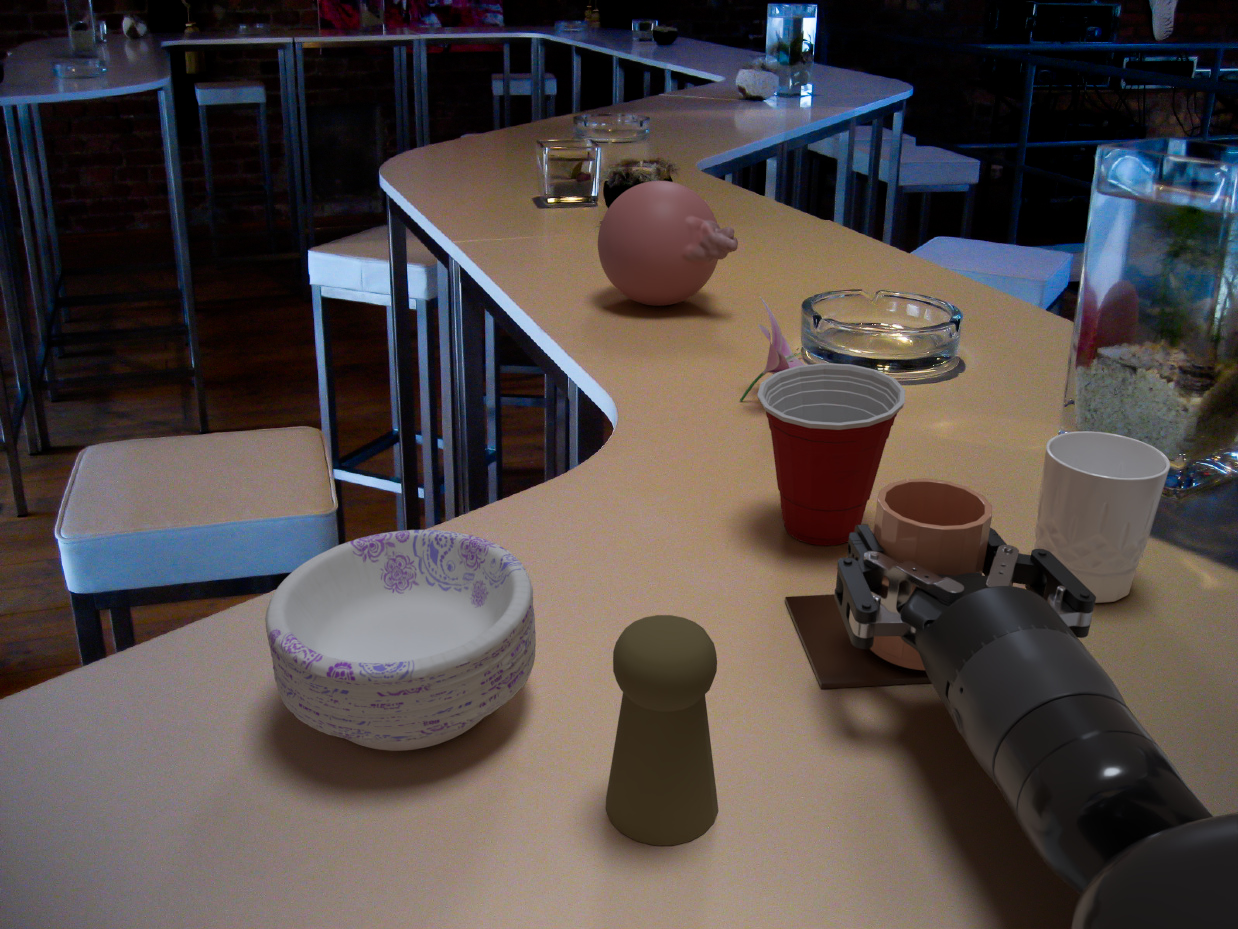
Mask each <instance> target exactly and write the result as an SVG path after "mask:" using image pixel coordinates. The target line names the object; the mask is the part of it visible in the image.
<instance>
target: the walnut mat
mask: <svg viewBox="0 0 1238 929" xmlns="http://www.w3.org/2000/svg"><path fill="white" fill-rule="evenodd" d="M784 602H785V605H786V608H787V610H788V612H789V614H790V617H791V619H792V621H793V624H794V626H795V629H796V631H797V633H798V636H799V638H800V641H801V643H802V646H803V648H804V651H805V653H806V656H807V658H808V660H809V663H810V665H811V668H812V670H813V673H814V675H815V677H816V680H817V682H818V684H819V688H820V689H821V690H823V689H840V688H841V689H842V688H843V689H844V688H859V687H862V688H863V687H877V686H878V687H880V686H895V685H913V684H914V685H915V684H932V683H931V681H930V679H929V677H928V675H927V673H926V671H925V670H916V669H910V668H905V667H901V666H898V665H895V664H893V663H890V662H888V661H886V660H884V659H882V658H881V657H879V656H878V655H876V654H875V653H874V652H873V651H871V650H870V648H869V649H860V648H857V647H855V646H853V644H852V643H851V640H850V637H849V635H848V632H847V630H846V627H845V624H844V622H843V619H842V616H841V614H840V611H839V608H838V606H837V603H836V600H835V598H834V593H833V594H814V595H792V596H791V595H789V596H784Z"/></svg>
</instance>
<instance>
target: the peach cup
mask: <svg viewBox="0 0 1238 929" xmlns="http://www.w3.org/2000/svg"><path fill="white" fill-rule="evenodd" d="M992 519H993V505H992V504H991V502H990V501H989V500H988V499H987V498H986V496H984V495H983V494H981V493H979V492H978V491H976V490H974V489H972V488H970V487H968V486H966V485H962V484H959V483H956V482H952V481H948V480H941V479H935V478H925V477H924V478H923V477H922V478H907V479H905V478H904V479H902V480H901V479H900V480H898V481H894V482H893V481H892V482H890V483H888V484H886V485H885V486H884V487H883V488H881V489H880V490H879V492H878V496H877V500H876V509H875V516H874V527H873V534H874V536H875V537H876V539H877V541H878V542H879V544H880V545H881V547H882V548H883V550H884V555H886V556H888V557H890V558H891V559H893V560H895V561H897V562H899V563H903V562H905V561H912V562H913V563H915V564H917V565H919V566H921V567H923V568H925V569H927V570H928V571H930V572H932V573H934V574H936V575H937V574H943V575H960V574H965V573H978V572H980V573H981V575H984V574H983V568H984V562H985V556H986V550H987V543H988V537H989V531H990V528H991V525H992ZM882 584H884V585H886V586H888V587H889V580H888V578H887V577H886V576H885V575H883V581H882ZM916 587H917V586H915V585H914V584H912V589H911V594H912V593H913V591H914V590H915V588H916ZM870 650H871V651H873V652H874V653H875V654H876V655H878V656H879V657H881V658H882V659H884V660H886V661H888V662H890V663H893V664H895V665H898V666H901V667H905V668H910V669H916V670H925V668H924V666H923V663H922V660H921V657H920V655H919V652H918V651H917V650H916V649H914V648H913V647H911V646H910V645H908V644H907V643H905V642H904V641H903V640H902V639H901V637H900V636H874V642H873V646H872V647H871V648H870Z"/></svg>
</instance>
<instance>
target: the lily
mask: <svg viewBox="0 0 1238 929" xmlns="http://www.w3.org/2000/svg"><path fill="white" fill-rule="evenodd" d="M759 298H760V300H761V302H762V304H763V306H764V309H765V311H766V312H767V316H768V318H769V322H770V327H771V333H770V331H769V329H767V327H765V326H764V325H762V324H759V323H758V324H757V327H758V328H759V330H760V331H761V332H762V333H763V335H764V336H765V337H766V339H767V340H768V342H769V348H768V355H767V359H766V365H765V368H764V370H763V371H762V372H761V373H760V374H759V375H757V377H756V378H754V380H753V381H752V382H750V384H749V386H748V387H747V388H746V390H745V392H744V393H743V394H742V396H741V397H740V399H739V401H740V402H743V401H744V400H745V398H746V397H747V395H748V394H749V393H750V391H751V390H752V388H753V387H754V386H755V384H756V383H758V382H759V380H760V379H761V378H762V377H764V376H765V375H766V374H771V375H773V374H775V373H777V372H780V371H783V370H786V369H790V368H793V367H796V366H803V365H805V363H804V362H803V361H802V359H803V357H798V356H806V353H804V351H801V352H799V353H797V351H798V350H799V349H800V347H797V348H796V351H794V352H793V351H792V348H791V346H790V344H789V342H788V340H787V339H786V338H785V335H783V334H782V330H781V327H780V324H779V323H778V320H777V318H776V316H775V315H774V313H773V311H772V310H771V308H770V307H769V305H768V304H767V303H766V301H765V300H764V299H763V297H762V296H759ZM771 337H772V340H771ZM771 341H772V342H771Z"/></svg>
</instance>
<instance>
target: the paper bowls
mask: <svg viewBox="0 0 1238 929" xmlns="http://www.w3.org/2000/svg"><path fill="white" fill-rule="evenodd" d="M264 619H265V631H266V636H267V641H268V646H269V650H270V657H271V660H272V669H273V675H274V680H275V683H276V687H277V691H278V693H279V696H280V698H281V700H282V703H283V704H284V706H285V707H286V708H287V709H288V710H289V712H290V713H291V714H294V715H293V716H294V717H295V718H296V719H298V720H299V721H300V722H302V723H303V724H304V725H305V724H306V725H307V726H309V727H310V728H312V729H315V730H317V731H318V732H320V733H324V734H326V735H327V736H328V735H329V736H333V737H337V738H340V739H346V740H347V741H350V742H351V743H353V744H356V745H359V746H362V747H365V748H369V749H374V750H380V751H391V752H397V751H398V752H399V751H400V752H402V751H412V750H413V751H415V750H421V749H424V748H429V747H434V746H437V745H440V744H442V743H446V742H448V741H450V740H452V739H455V738H457V737H459V736H461V735H462V734H464V733H466V732H467V731H469V730H470V729H473V727H475V726H476V725H477V724H478V723H479V722H481V721H482V720H483V719H484V718H486V717H488V716H489V715H491V714H492V713H494V712H496V711H497V710H498V709H499V708H501V707H502V706H504V705H506V704H507V703H508V702H509V701H510V700H511V699H513V698H514V697H515V696H516V695H517V694H518V693H519V691H521V689H522V688H523V686H525V684H526V682H527V681H528V679H529V677H530V676H531V673H532V670H533V668H534V664H535V661H536V660H535V659H536V647H537V646H536V645H537V637H536V636H537V635H536V633H537V631H536V616H535V608H534V588H533V584H532V581H531V578H530V575H529V573H528V572H527V570H526V567H525V566H524V564H523V562H521V561H520V559H519V558H517V556H515V555H514V554H513V553H512V552H511V551H509V550H507V549H506V548H504V547H503V546H501V545H499V544H498V543H495V542H493V541H490V540H488V539H486V538H482V537H480V536H474V535H472V534H468V533H463V532H457V531H449V530H442V529H441V530H440V529H439V530H438V529H408V530H396V531H390V532H388V531H387V532H382V533H376V534H371V535H368V536H363V537H362V536H361V537H360V538H359V537H358V538H356V539H354V540H350V541H347V542H344V543H341V544H338V545H335V546H334V547H331V548H330V549H328V550H325V551H323V552H321V553H319V554H317V555H315V556H313V557H312V558H310V559H308V560H306V561H305V562H303V563H302V564H300V565H299V566H298V567H296V568H295V569H294V570H292V571H291V572H290V573H289V574H288V575H287V576H286V577H285V578H284V579H283V580H282V582H281V583H280V584H279V585H278V586H277V588H276V589H275V590H274V592H273V594H272V596H271V598H270V600H269V602H268V605H267V608H266V612H265V618H264Z"/></svg>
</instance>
